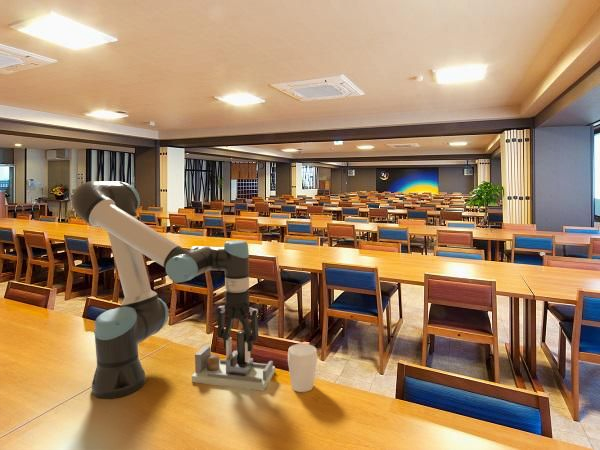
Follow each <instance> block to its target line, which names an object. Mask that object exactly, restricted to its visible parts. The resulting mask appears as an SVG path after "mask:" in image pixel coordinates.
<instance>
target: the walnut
mask: <svg viewBox="0 0 600 450" xmlns="http://www.w3.org/2000/svg"><path fill="white" fill-rule="evenodd" d="M219 360H220V355H219V354H214V353H212V354H211V355H209V356H207V370H208V371H217V370H219V368H220V367H219Z"/></svg>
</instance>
